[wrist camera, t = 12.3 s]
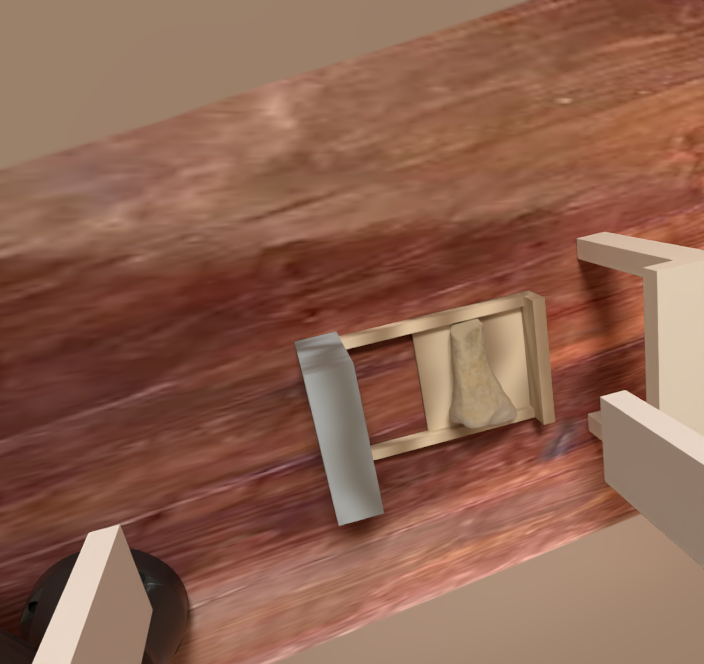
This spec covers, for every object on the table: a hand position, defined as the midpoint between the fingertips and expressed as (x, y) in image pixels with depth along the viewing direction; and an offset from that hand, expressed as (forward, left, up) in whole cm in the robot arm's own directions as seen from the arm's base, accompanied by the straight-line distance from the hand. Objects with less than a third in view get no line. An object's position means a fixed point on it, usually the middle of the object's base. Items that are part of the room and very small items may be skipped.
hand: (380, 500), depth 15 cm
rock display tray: (+11, -14, -37) cm, 41 cm away
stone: (+15, -14, -36) cm, 42 cm away
